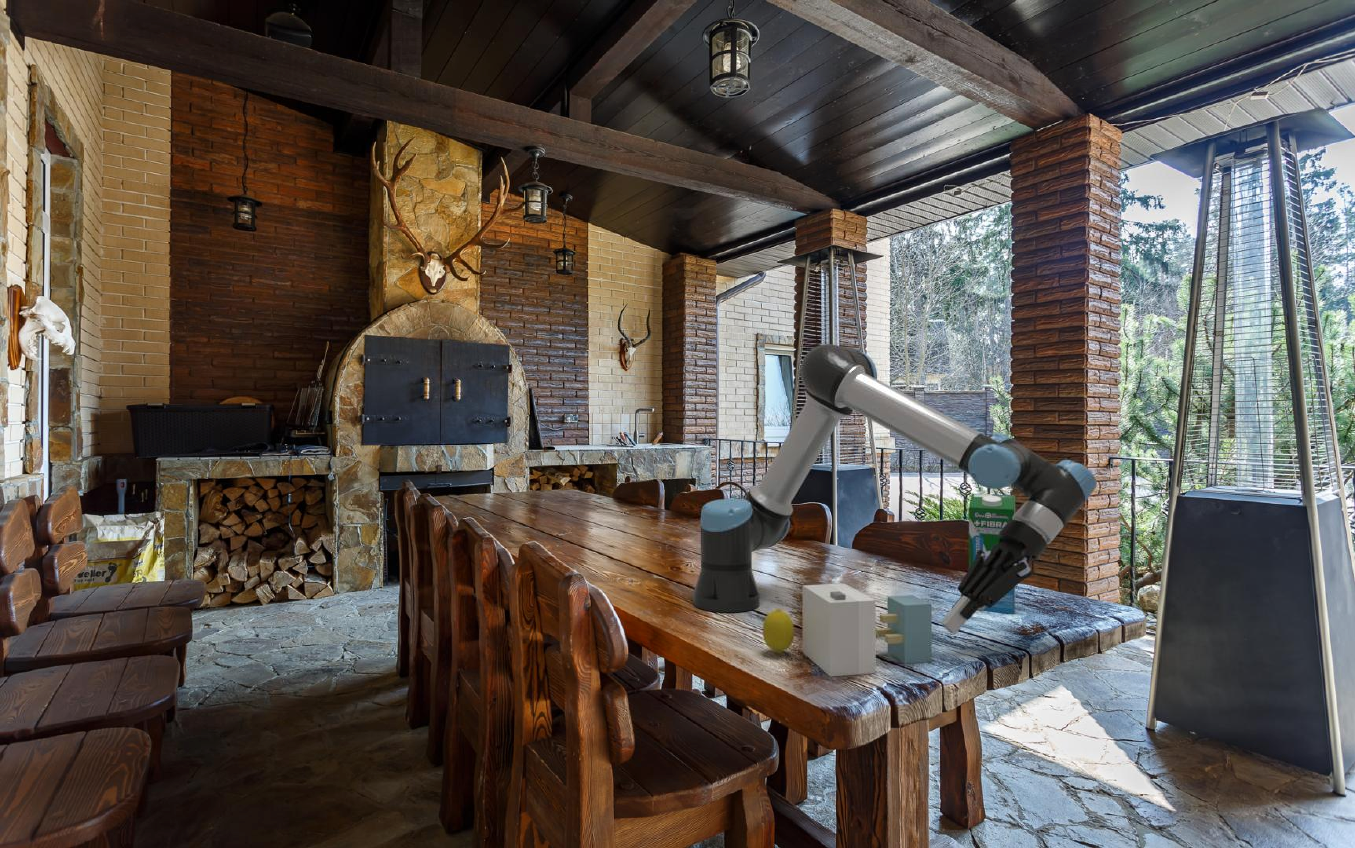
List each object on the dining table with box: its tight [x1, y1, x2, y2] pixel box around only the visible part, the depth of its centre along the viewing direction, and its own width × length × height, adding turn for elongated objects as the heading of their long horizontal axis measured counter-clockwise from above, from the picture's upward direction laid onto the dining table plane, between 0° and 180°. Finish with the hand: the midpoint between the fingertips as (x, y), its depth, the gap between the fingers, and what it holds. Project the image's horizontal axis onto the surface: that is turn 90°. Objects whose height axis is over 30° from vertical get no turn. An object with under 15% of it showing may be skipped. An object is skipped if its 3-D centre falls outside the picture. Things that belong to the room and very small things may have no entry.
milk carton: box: [968, 492, 1016, 615], centre depth 151 cm, size 9×9×25 cm
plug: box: [876, 594, 933, 665], centre depth 118 cm, size 6×8×10 cm
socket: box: [802, 583, 877, 678], centre depth 116 cm, size 12×8×13 cm, turn 11°
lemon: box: [762, 608, 795, 655], centre depth 120 cm, size 6×6×8 cm
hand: (947, 628), depth 120 cm, fingers closed
